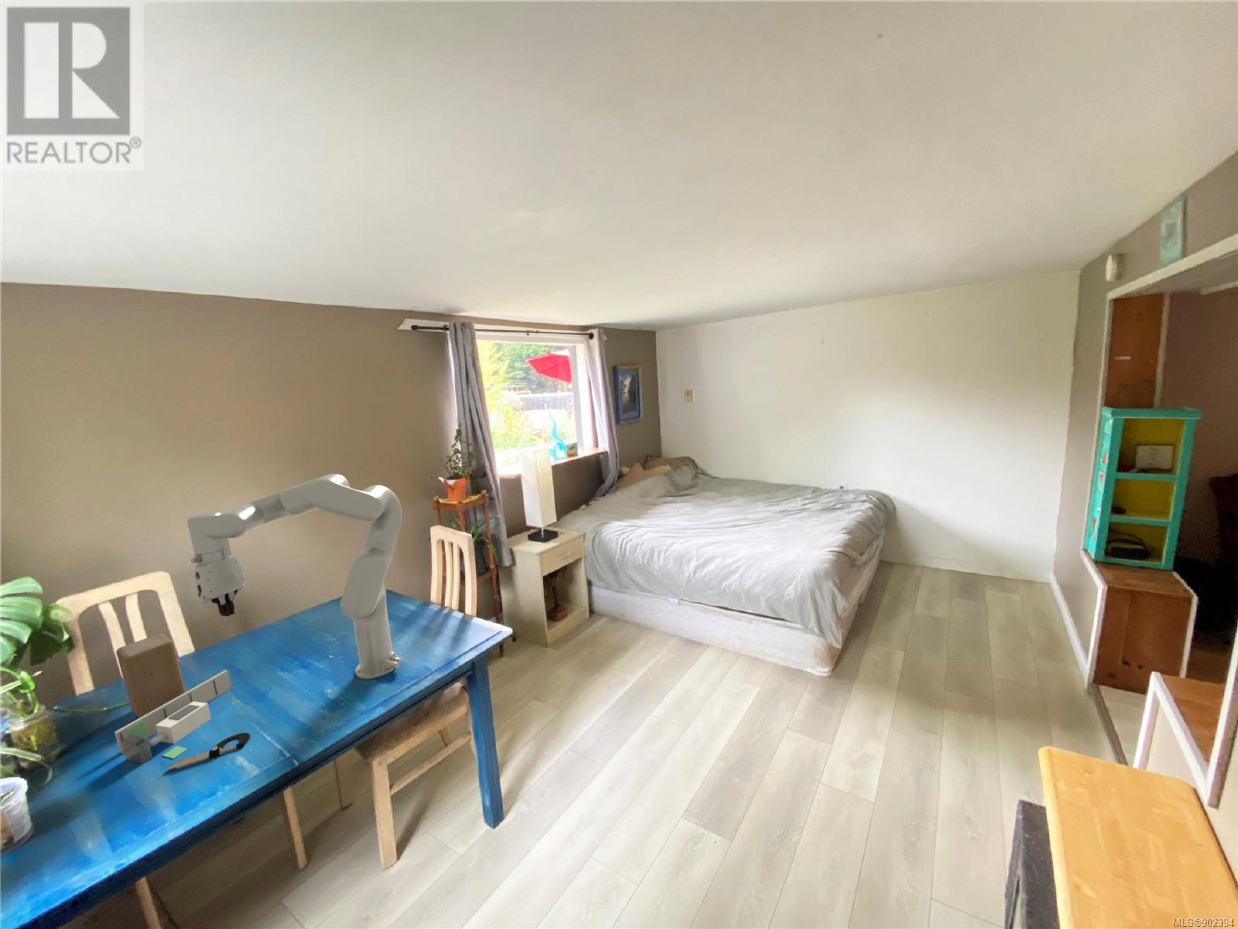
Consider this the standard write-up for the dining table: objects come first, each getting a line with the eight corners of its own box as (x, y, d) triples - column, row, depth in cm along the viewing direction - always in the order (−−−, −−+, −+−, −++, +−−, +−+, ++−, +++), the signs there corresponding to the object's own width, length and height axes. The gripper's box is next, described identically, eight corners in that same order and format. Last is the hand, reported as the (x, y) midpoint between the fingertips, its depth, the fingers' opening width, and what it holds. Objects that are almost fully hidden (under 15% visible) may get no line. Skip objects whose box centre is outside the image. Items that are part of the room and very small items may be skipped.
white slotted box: (211, 719, 126) (207, 702, 125) (160, 753, 114) (156, 735, 114) (197, 717, 127) (193, 700, 126) (145, 751, 115) (141, 733, 114)
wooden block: (141, 723, 125) (123, 658, 122) (131, 710, 130) (114, 648, 127) (188, 701, 133) (173, 640, 130) (177, 690, 139) (163, 631, 135)
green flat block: (187, 749, 115) (187, 749, 115) (173, 759, 112) (173, 758, 112) (177, 746, 116) (176, 746, 116) (162, 756, 113) (162, 755, 113)
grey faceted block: (152, 757, 113) (147, 737, 112) (142, 764, 111) (136, 743, 110) (136, 753, 115) (131, 733, 114) (126, 759, 113) (120, 739, 112)
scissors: (253, 731, 121) (251, 722, 121) (246, 749, 115) (244, 740, 115) (179, 754, 114) (176, 746, 114) (168, 775, 108) (165, 766, 108)
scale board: (232, 688, 139) (228, 670, 138) (123, 753, 115) (117, 733, 114) (229, 687, 139) (225, 670, 138) (120, 752, 115) (114, 732, 114)
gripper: (192, 567, 120) (207, 629, 123) (251, 546, 134) (263, 603, 137) (173, 565, 122) (189, 627, 125) (233, 545, 136) (245, 601, 140)
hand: (228, 614), depth 131 cm, fingers closed
